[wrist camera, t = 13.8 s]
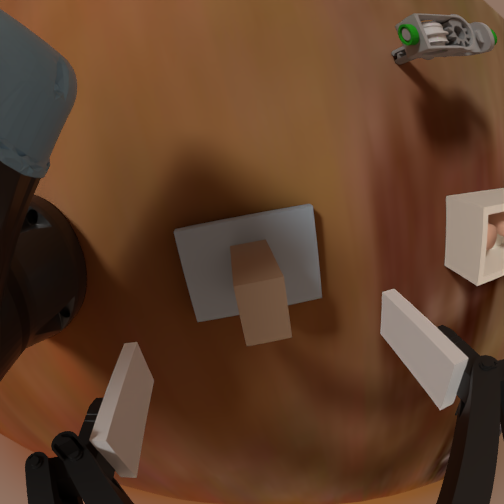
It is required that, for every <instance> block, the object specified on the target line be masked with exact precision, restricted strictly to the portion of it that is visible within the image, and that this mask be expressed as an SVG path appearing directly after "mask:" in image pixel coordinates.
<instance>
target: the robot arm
mask: <svg viewBox="0 0 504 504" xmlns="http://www.w3.org/2000/svg"><path fill="white" fill-rule="evenodd" d="M76 94H77V79H76V75H75V72H74V70H73V68H72V66H71V65H70V63H69V62H68V61H67V60H66V59H65V58H64V57H63V56H62V55H61V54H60V53H58V52H57V51H56V50H55V49H54V48H52V47H51V46H50V45H49V44H47V43H46V42H45V41H44V40H42V39H41V38H40V37H38V36H37V35H36V34H34V33H33V32H32V31H30V30H29V29H28V28H26V27H25V26H24V25H22V24H21V23H20V22H18V21H17V20H15V19H14V18H13V17H11V16H10V15H8V14H7V13H5V12H4V11H3V10H1V9H0V381H1V380H2V379H3V377H4V376H5V374H6V373H7V372H8V370H9V369H10V368H11V366H12V365H13V364H14V363H15V361H16V360H17V359H18V357H19V356H20V355H21V353H22V352H23V351H24V350H25V349H26V348H28V347H30V346H32V345H34V344H36V343H38V342H41V341H43V340H45V339H47V338H49V337H51V336H53V335H56V334H57V333H59V332H60V331H62V330H63V329H64V328H65V327H66V326H67V325H68V324H69V323H70V322H71V320H72V319H73V318H74V316H75V315H76V314H77V312H78V311H79V309H80V307H81V305H82V303H83V300H84V297H85V292H86V281H87V277H86V266H85V261H84V256H83V253H82V249H81V246H80V244H79V241H78V239H77V237H76V235H75V233H74V231H73V229H72V228H71V226H70V224H69V223H68V221H67V220H66V219H65V217H64V216H63V215H62V214H61V213H60V212H59V211H58V210H57V209H56V208H55V207H54V206H53V205H52V204H51V203H49V202H48V201H46V200H45V199H43V198H41V197H39V196H36V195H34V193H35V190H36V188H37V185H38V183H39V181H40V179H41V178H43V177H45V174H46V173H47V170H48V169H49V167H50V159H49V157H50V155H51V153H52V150H53V148H54V146H55V143H56V141H57V139H58V137H59V134H60V132H61V130H62V128H63V126H64V124H65V122H66V119H67V117H68V115H69V113H70V111H71V109H72V107H73V105H74V102H75V99H76ZM380 334H381V335H382V336H383V337H384V339H385V340H386V341H387V342H388V344H389V345H390V346H391V347H392V349H393V350H394V351H395V352H396V354H397V355H398V356H399V357H400V359H401V360H402V361H403V362H404V364H405V365H406V366H407V368H408V369H409V370H410V371H411V373H412V374H413V375H414V377H415V378H416V379H417V380H418V382H419V383H420V384H421V386H422V387H423V388H424V390H425V391H426V392H427V394H428V395H429V396H430V398H431V399H432V400H433V402H434V403H435V404H436V406H437V407H438V408H439V410H442V409H444V408H446V407H448V406H450V405H452V404H453V403H454V400H455V398H456V395H457V396H458V397H459V398H460V399H461V401H460V403H459V406H458V408H457V411H456V413H455V415H457V414H458V415H457V421H456V427H455V432H454V438H453V443H452V447H451V452H450V457H449V461H448V465H447V469H446V473H445V477H444V480H443V484H442V487H441V491H440V494H439V497H438V500H437V503H436V504H489V503H490V498H491V493H492V489H493V482H494V477H495V470H496V463H497V454H498V444H499V431H500V424H501V428H502V433H503V439H504V359H503V360H499V361H497V360H496V359H495V358H493V357H492V356H487V355H484V356H480V355H479V354H478V353H476V352H475V351H474V350H473V349H472V348H471V347H470V346H469V345H468V344H467V343H466V342H465V341H464V340H462V339H461V338H460V337H459V336H457V334H456V333H455V332H454V331H453V330H452V329H450V328H448V327H446V326H443V325H441V326H438V327H436V326H435V325H434V324H433V323H431V322H430V321H429V320H428V319H427V318H426V317H425V316H424V315H423V314H422V313H421V312H420V311H418V310H417V309H416V308H415V307H414V306H413V305H412V304H411V303H410V302H408V301H407V300H406V299H405V298H404V297H403V296H402V295H401V294H400V293H398V292H397V291H396V290H395V289H391V290H388V291H384V292H382V313H381V332H380ZM153 384H154V379H153V377H152V374H151V372H150V370H149V368H148V366H147V363H146V361H145V359H144V357H143V354H142V352H141V350H140V347H139V345H138V343H137V342H132V343H124V346H123V348H122V350H121V353H120V356H119V358H118V361H117V363H116V366H115V368H114V371H113V374H112V376H111V379H110V382H109V384H108V387H107V390H106V392H105V395H104V398H96V399H95V400H94V401H93V402H92V404H91V405H90V406H89V409H88V412H87V415H86V417H85V420H84V421H85V422H83V425H82V428H81V431H80V433H79V436H77V435H76V434H75V433H73V432H71V431H65V432H62V433H60V434H58V435H57V436H56V437H55V438H54V439H53V441H52V445H51V447H52V450H53V451H54V452H55V454H56V455H57V456H58V457H54V458H48V457H47V456H46V455H45V454H44V453H42V452H35V453H33V454H31V455H30V456H29V457H28V458H27V460H26V464H25V472H26V486H27V496H28V504H83V501H84V502H85V504H134V503H133V502H132V501H131V500H130V498H129V497H128V496H127V494H126V493H125V492H124V490H123V489H122V488H121V486H120V485H119V483H118V482H117V481H116V480H115V479H114V477H113V476H114V472H115V471H116V472H117V473H118V474H119V475H120V477H135V478H137V472H138V465H139V459H140V453H141V447H142V441H143V435H144V430H145V425H146V419H147V414H148V409H149V404H150V399H151V394H152V389H153ZM82 499H83V500H82Z"/></svg>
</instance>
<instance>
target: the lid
mask: <svg viewBox="0 0 504 504" xmlns="http://www.w3.org/2000/svg"><path fill="white" fill-rule="evenodd" d="M174 236H175V240H176V244H177V248H178V252H179V256H180V260H181V264H182V268H183V272H184V275H185V279H186V283H187V287H188V290H189V294H190V298H191V301H192V305H193V308H194V312H195V315H196V319H197V322H202V321H208V320H213V319H219V318H225V317H230V316H236V315H240V319H241V324H242V328H243V333H244V337H245V342H246V346H252V345H258V344H263V343H268V342H273V341H278V340H282V339H287V338H292V333H291V325H290V318H289V310H288V305H291V304H296V303H301V302H305V301H310V300H315V299H319V298H322V290H321V278H320V267H319V257H318V247H317V238H316V229H315V220H314V212H313V206H312V205H311V204H305V205H299V206H294V207H288V208H282V209H276V210H271V211H265V212H260V213H254V214H249V215H243V216H238V217H233V218H228V219H222V220H217V221H212V222H207V223H202V224H197V225H192V226H187V227H182V228H178V229H175V230H174Z"/></svg>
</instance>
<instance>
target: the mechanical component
mask: <svg viewBox="0 0 504 504" xmlns="http://www.w3.org/2000/svg"><path fill="white" fill-rule="evenodd" d="M423 20H433V21H431V22H422V23H421V21H423ZM395 28H396V30H397V32H398V35H399V38H400V40H401V42H402V44H403V46H402V47H400V48H398V49H396V50H394V51H392V55H393V56H397V59H396V60H395V63H397V64H403V63H406V62H408V61H411V60H414V59H416V58H423V59H426V60H431V59H433V58H434V57H447V56H468V55H475V54H480V53H485V52H489V51H491V50H492V49H493V48H494V45H495V44H496V43H497V36H496V34H495V32H494V31H493V30H491V29H490V28H489V27H488V26H487V25H486V24H484V23H480V22H474V23H471V24H469V23H467V22H466V21H465V20H464V19H463V18H462V17H460V16H459V15H456V14H451V15H437V14H412V15H410V16H409V17H407V18H405V19H404V20H402V22H400V23H398V24H397V25H396V26H395Z"/></svg>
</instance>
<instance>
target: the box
mask: <svg viewBox="0 0 504 504" xmlns="http://www.w3.org/2000/svg"><path fill="white" fill-rule="evenodd" d="M445 266H446V267H448V268H449V269H451V270H453V271H454V272H456V273H457V274H459V275H461V276H462V277H464V278H465V279H467V280H468V281H470V282H472V283H473V284H475V285H476V286H479V285H481V284H484V283H486V282H489V281H491V280H494V279H496V278H499V277H501V276H504V188H500V189H492V190H485V191H478V192H471V193H464V194H457V195H450V196H446V249H445Z"/></svg>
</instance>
